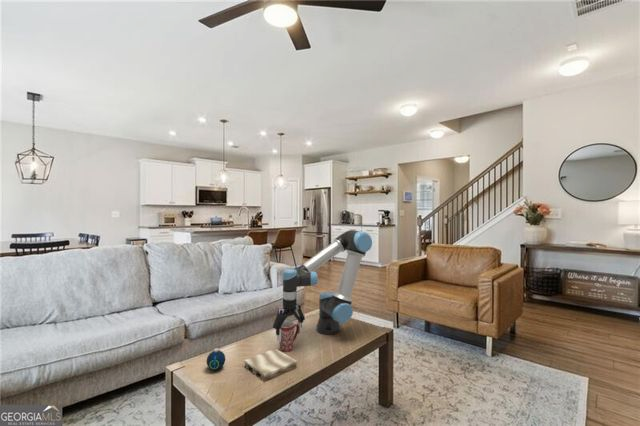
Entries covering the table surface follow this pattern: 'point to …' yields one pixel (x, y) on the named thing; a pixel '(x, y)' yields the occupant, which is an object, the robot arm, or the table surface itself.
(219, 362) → the christmas ornament
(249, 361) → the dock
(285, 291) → the robot arm
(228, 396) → the table surface
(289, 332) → the mug
